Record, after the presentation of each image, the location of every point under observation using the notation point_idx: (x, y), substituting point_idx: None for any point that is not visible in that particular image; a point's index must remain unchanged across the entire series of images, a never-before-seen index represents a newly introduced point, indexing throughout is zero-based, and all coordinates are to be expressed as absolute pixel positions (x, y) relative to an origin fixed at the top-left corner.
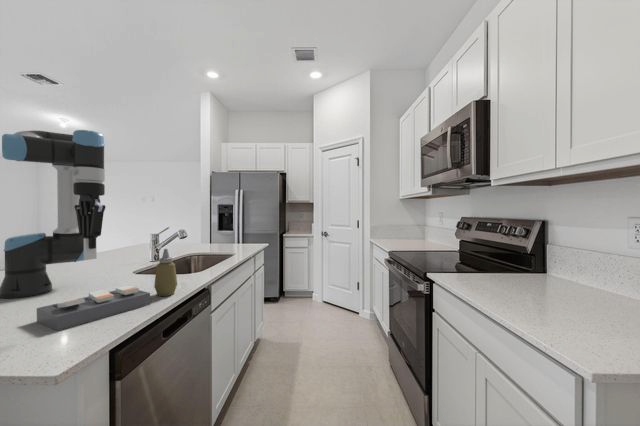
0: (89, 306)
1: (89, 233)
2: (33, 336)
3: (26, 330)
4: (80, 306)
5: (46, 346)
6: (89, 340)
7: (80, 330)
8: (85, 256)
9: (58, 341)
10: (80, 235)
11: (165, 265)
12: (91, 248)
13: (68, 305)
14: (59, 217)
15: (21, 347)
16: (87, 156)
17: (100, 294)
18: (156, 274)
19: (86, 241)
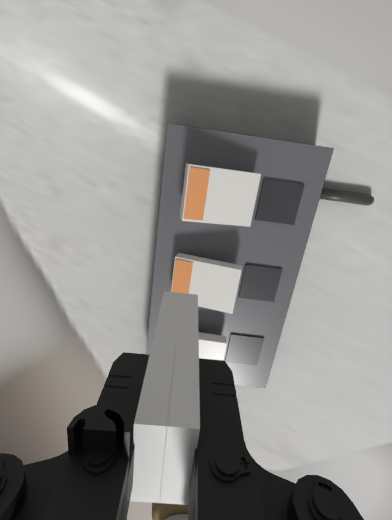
0: (180, 227)
1: (49, 515)
2: (192, 73)
3: (264, 92)
4: None
5: (76, 45)
6: (18, 121)
7: (117, 156)
8: (172, 303)
9: (85, 81)
10: (305, 476)
11: (161, 505)
12: (120, 360)
13: (185, 169)
14: None
15: (132, 9)
16: None
17: (204, 282)
18: None
19: (140, 395)
